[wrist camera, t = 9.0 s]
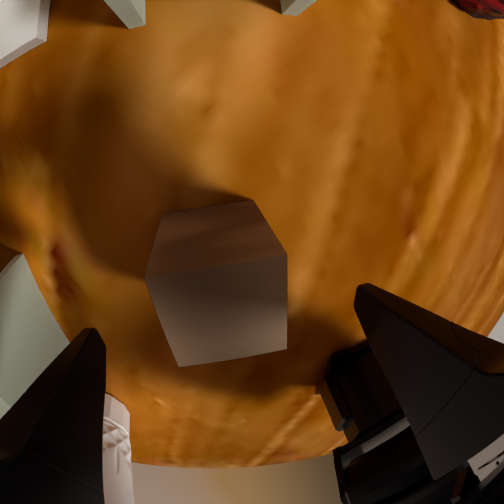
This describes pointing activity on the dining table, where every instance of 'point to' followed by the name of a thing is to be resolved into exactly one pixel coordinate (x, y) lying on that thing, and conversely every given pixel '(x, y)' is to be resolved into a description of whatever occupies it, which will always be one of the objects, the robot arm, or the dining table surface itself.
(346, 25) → the dining table surface
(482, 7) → the red clay folk toy
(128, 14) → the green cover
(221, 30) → the dining table surface
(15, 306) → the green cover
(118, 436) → the white cup
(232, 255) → the walnut block
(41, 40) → the grey ceramic tile
